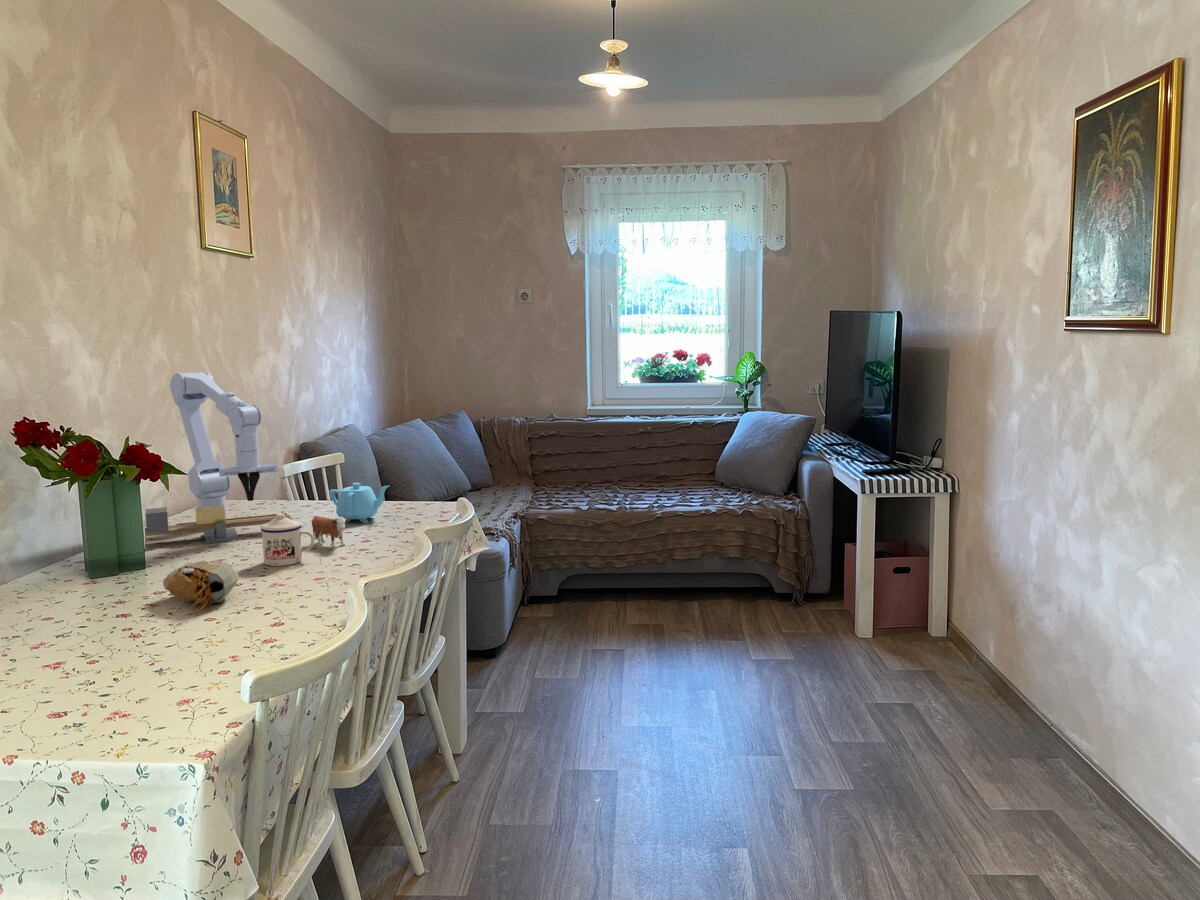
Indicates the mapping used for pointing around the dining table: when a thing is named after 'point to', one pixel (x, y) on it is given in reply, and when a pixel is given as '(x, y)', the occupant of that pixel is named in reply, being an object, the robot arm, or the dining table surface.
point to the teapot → (357, 502)
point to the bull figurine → (328, 528)
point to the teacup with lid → (283, 541)
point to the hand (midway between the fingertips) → (250, 500)
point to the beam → (159, 522)
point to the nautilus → (201, 582)
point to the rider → (210, 515)
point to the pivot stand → (220, 534)
